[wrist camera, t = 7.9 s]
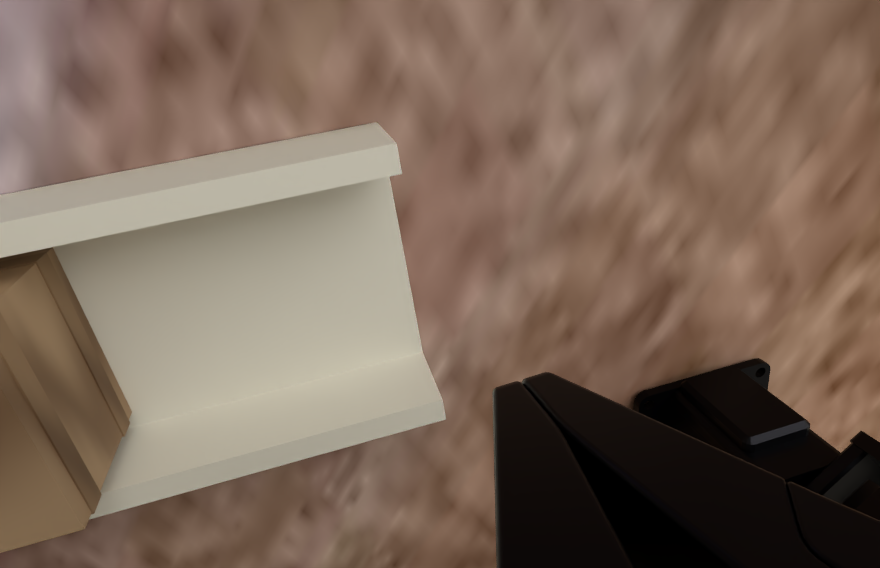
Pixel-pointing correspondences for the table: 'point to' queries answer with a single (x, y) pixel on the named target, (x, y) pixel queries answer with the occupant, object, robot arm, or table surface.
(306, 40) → the table surface
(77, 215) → the bay
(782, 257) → the table surface
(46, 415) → the crate
